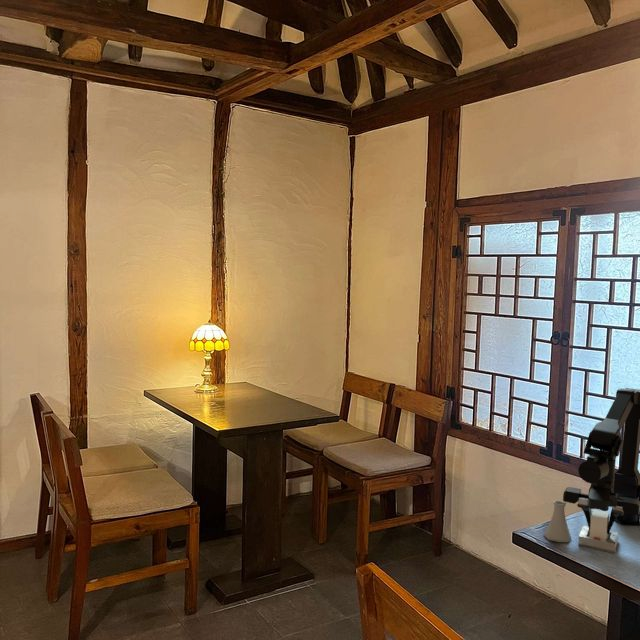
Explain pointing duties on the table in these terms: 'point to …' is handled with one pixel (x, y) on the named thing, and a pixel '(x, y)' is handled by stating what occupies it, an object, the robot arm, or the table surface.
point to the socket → (598, 541)
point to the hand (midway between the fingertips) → (599, 531)
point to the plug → (599, 524)
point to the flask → (558, 524)
